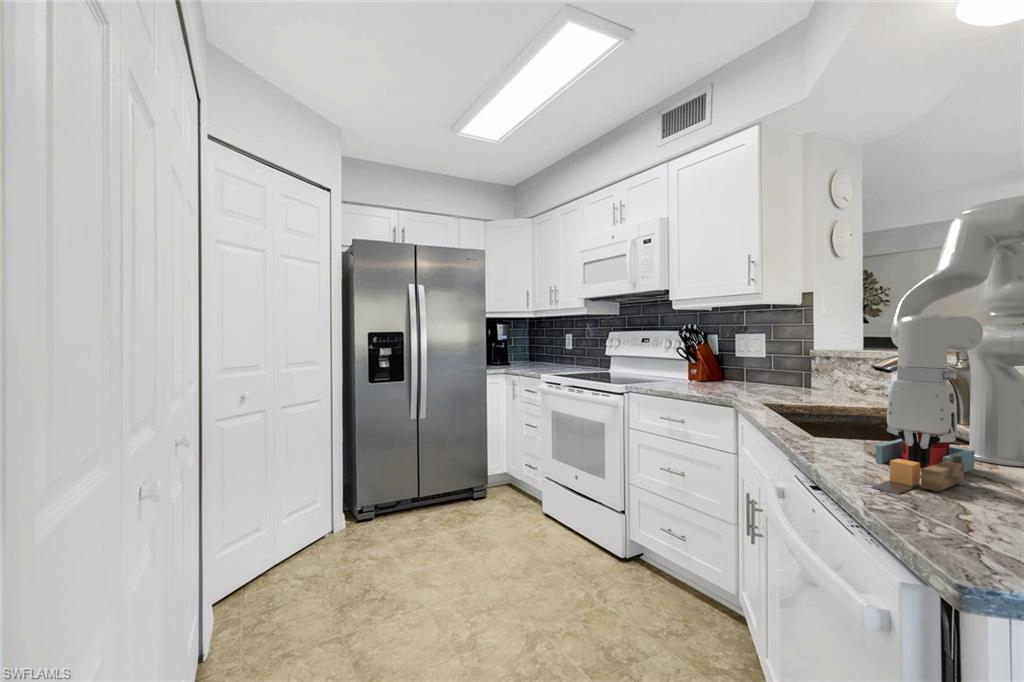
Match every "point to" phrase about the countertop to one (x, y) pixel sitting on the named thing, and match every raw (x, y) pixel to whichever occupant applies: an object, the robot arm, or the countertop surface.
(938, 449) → the canned food
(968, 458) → the keeper bay
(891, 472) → the orange cube
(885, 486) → the grey flat plate
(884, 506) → the countertop surface
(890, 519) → the countertop surface
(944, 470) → the bar
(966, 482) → the hinge base
